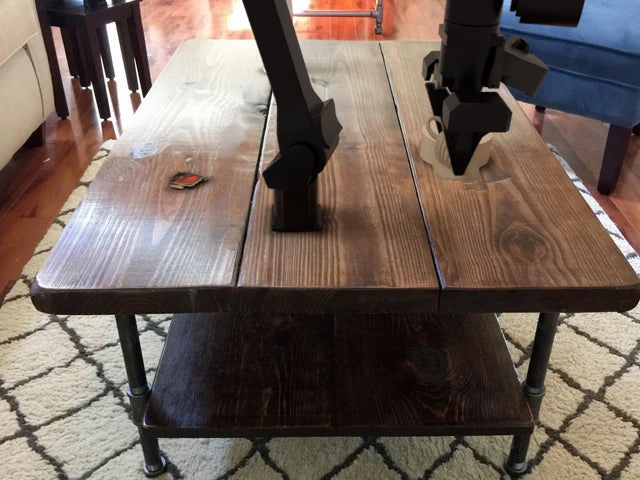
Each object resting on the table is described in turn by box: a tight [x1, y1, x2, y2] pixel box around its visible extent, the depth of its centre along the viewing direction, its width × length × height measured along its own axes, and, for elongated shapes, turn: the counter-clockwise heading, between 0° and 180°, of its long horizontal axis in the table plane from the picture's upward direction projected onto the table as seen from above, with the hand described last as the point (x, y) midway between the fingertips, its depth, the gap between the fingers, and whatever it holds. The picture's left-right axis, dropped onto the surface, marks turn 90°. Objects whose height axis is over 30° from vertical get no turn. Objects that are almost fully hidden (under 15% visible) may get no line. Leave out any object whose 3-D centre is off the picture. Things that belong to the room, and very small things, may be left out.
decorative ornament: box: [425, 115, 484, 182], centre depth 74 cm, size 4×8×5 cm, turn 23°
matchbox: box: [168, 171, 209, 190], centre depth 93 cm, size 5×5×1 cm
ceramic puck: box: [418, 120, 494, 168], centre depth 101 cm, size 11×11×4 cm
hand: (452, 161), depth 75 cm, fingers closed on decorative ornament, 7 cm apart
